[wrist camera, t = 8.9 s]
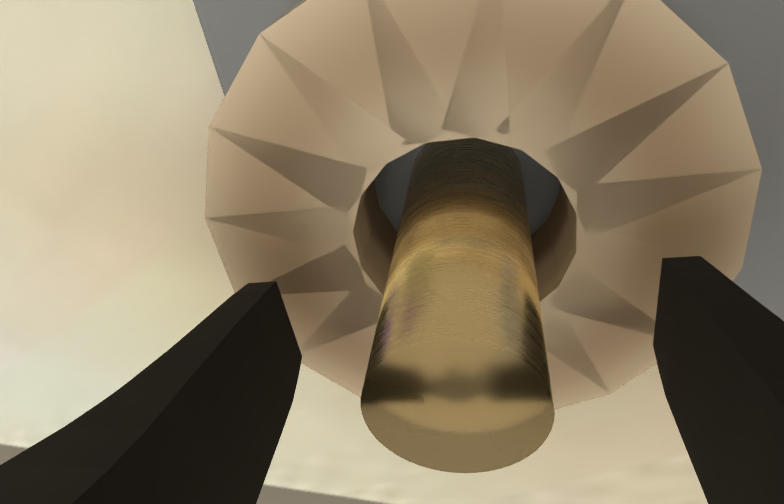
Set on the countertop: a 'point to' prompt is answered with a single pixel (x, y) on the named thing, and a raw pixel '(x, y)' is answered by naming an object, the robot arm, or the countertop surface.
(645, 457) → the countertop surface
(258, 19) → the mat
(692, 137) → the beige grooved ring
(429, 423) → the peg
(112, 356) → the countertop surface
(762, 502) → the robot arm
